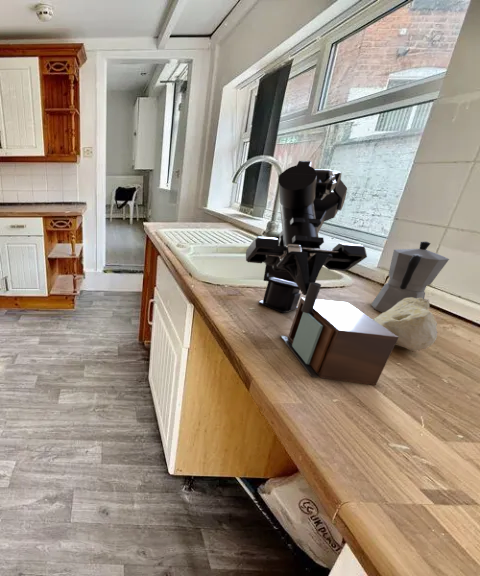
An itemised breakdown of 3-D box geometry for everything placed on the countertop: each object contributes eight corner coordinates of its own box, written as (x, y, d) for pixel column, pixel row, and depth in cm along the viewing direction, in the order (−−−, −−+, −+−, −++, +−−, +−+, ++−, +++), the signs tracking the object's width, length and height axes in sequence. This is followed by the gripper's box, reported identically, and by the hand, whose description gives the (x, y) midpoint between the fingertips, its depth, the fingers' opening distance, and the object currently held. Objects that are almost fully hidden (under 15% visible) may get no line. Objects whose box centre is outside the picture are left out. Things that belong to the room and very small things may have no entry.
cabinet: (280, 336, 63) (293, 296, 59) (331, 342, 61) (347, 302, 58) (311, 376, 51) (329, 329, 47) (375, 385, 49) (399, 337, 46)
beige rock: (397, 373, 56) (494, 334, 52) (372, 338, 57) (465, 297, 53) (356, 353, 71) (429, 321, 66) (337, 326, 72) (407, 292, 67)
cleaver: (287, 344, 59) (308, 281, 54) (296, 345, 58) (318, 282, 54) (302, 363, 53) (327, 295, 48) (312, 365, 53) (338, 296, 48)
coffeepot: (376, 299, 85) (403, 234, 78) (423, 311, 78) (457, 242, 71) (362, 313, 76) (392, 241, 69) (414, 328, 69) (453, 251, 62)
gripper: (325, 247, 67) (335, 315, 61) (236, 240, 70) (237, 304, 64) (361, 216, 57) (377, 293, 51) (255, 209, 59) (258, 281, 53)
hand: (307, 294), depth 55 cm, fingers closed
